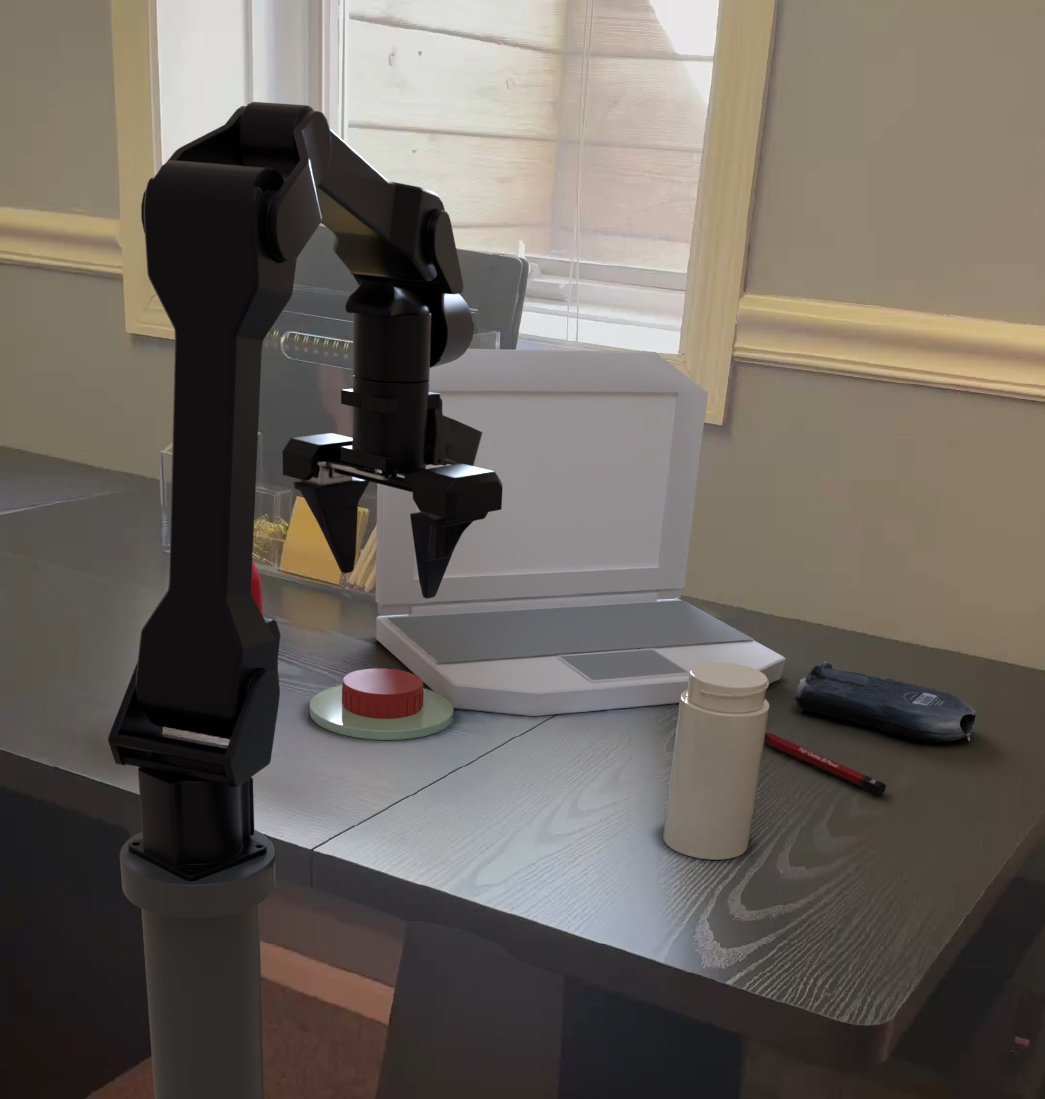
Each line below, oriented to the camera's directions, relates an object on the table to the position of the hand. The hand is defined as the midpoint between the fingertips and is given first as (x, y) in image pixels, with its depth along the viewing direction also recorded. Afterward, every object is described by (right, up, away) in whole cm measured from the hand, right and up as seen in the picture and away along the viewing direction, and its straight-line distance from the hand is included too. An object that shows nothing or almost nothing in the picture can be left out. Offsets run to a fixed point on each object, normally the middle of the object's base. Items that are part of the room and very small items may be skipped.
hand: (387, 584), depth 113 cm
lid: (-1, -7, +4) cm, 9 cm away
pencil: (+34, -14, +1) cm, 37 cm away
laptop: (+17, -3, +21) cm, 27 cm away
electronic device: (+43, -9, +12) cm, 46 cm away
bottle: (+24, -21, -13) cm, 34 cm away
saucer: (-1, -10, +5) cm, 11 cm away
